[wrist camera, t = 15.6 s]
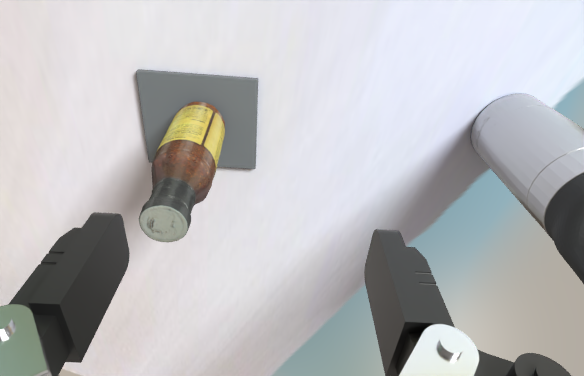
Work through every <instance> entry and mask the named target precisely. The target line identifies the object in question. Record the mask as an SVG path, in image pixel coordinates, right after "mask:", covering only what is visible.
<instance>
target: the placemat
mask: <svg viewBox="0 0 584 376" xmlns="http://www.w3.org/2000/svg"><path fill="white" fill-rule="evenodd" d="M136 74H137V81H138V88H139V95H140V102H141V109H142V116H143V123H144V131H145V138H146V145H147V152H148V159H149V162H153V159H154V156H155V154H156V152H157V150H158V148H159V146H160V144H161V142H162V140H163V138H164V136H165V134H166V132H167V130H168V128H169V126H170V125H171V123H172V121H173V119H174V117H175V115H176V114H177V113H178V111H179V110H180V109H181V108H182V107H184V106H185V105H187V104H189V103H191V102H205V103H208V104H210V105H212V106H214V107H215V108H216V109H217V110H218V111H219V113H220V114H221V115H222V117H223V120H224V122H225V135H224V140H223V144H222V148H221V152H220V156H219V160H218V164H217V167H232V168H248V169H255V166H256V133H257V98H258V78H247V77H233V76H220V75H206V74H193V73H180V72H166V71H153V70H139V69H138V70H137V71H136Z"/></svg>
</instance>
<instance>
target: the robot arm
mask: <svg viewBox="0 0 584 376" xmlns="http://www.w3.org/2000/svg"><path fill="white" fill-rule="evenodd" d="M471 141H472V145H473V147H474V149H475V151H476V152H477V153H478V154H479V155H480V156H481V158H482V159H483V160H484V161H485V162H486V163H487V165H488V166H489V167H490V168H491V169H492V170H493V172H494V173H495V174H496V175H497V176H498V177H499V178H500V180H501V181H502V182H503V183H504V184H505V185H506V187H507V188H508V189H509V190H510V191H511V192H512V194H513V195H515V197H516V198H517V199H518V200H519V201H520V203H521V204H522V205H523V206H524V207H525V208H526V210H527V211H528V212H529V213H530V214H531V215H532V217H533V218H535V220H536V221H537V222H538V223H539V224H540V226H541V227H542V228H543V229H544V230H545V231H546V232H547V234H548V235H549V236H550V237H551V238H552V240H553V241H554V243H555V245H556V248H557V250H558V251H559V253H560V254H561V255H562V257H563V258H564V260H565V261H566V262H567V263H568V264H569V266H570V267H571V268H572V269H573V271H574V272H575V273H576V274H577V276H578V277H579V278H580V280H581V281H582V282H583V284H584V129H583V128H582V127H580V126H579V125H577V124H575V123H574V122H572V121H571V120H569V119H568V118H566V117H565V116H563V115H562V114H560V113H559V112H557V111H556V110H554V109H553V108H551V107H549V106H547V105H546V104H544V103H543V102H541V101H540V100H538V99H537V98H535V97H534V96H531V95H528V94H511V95H507V96H504V97H501V98H499V99H497V100H495V101H494V102H492V103H491V104H490V105H488V106H487V107H486V108H485V109H484V110H483V111H482V112H481V113H480V114H479V116H478V117H477V119H476V120H475V123H474V125H473V128H472V132H471ZM128 263H129V248H128V243H127V238H126V233H125V228H124V223H123V219H122V216H121V215H120V214H113V213H93V214H91V216H90V217H89V218H88V220H87V221H86V223H85V224H84V225H83V227H82V228H73V229H72V230H70V231H69V232H67V233H66V234H65V235H63V236H62V237H60V238H59V239H58V240H57V242H56V243H55V244H54V246H53V247H52V248H51V249H50V251H49V254H47V255H46V256H45V257H44V259H43V260H42V261H41V265H40V264H39V265H38V266H37V268H36V269H35V270H34V272H33V273H32V274H31V276H30V277H29V278H28V280H27V281H26V282H25V283H24V285H23V286H22V287H21V289H20V290H19V291H18V293H17V294H16V295H15V297H14V298H13V299H12V300H11V302H10V303H9V304H8V305H4V306H0V376H59V373H60V371H61V369H62V367H63V365H64V363H65V362H82V360H83V357H84V355H85V353H86V351H87V349H88V347H89V345H90V343H91V341H92V339H93V337H94V335H95V333H96V331H97V329H98V327H99V325H100V323H101V321H102V319H103V317H104V315H105V313H106V311H107V309H108V307H109V304H110V302H111V300H112V298H113V296H114V294H115V292H116V290H117V288H118V286H119V284H120V282H121V280H122V278H123V276H124V274H125V272H126V270H127V267H128ZM365 284H366V288H367V293H368V298H369V302H370V307H371V311H372V316H373V320H374V325H375V330H376V334H377V339H378V344H379V348H380V352H381V357H382V362H383V367H384V371H385V376H571V375H570V374H569V372H567V371H566V370H565V369H564V368H563V367H562V366H561V365H560V364H558V363H557V362H555V361H553V360H551V359H550V358H548V357H545V356H543V355H540V354H535V353H526V354H523V355H520V356H519V357H518V358H517V359H516V361H515V362H514V363H513V362H511V361H508V360H505V359H502V358H499V357H496V356H492V355H489V354H487V353H484V352H481V351H480V350H478V349H477V348H476V346H475V344H474V343H473V341H472V340H471V339H470V338H469V337H468V336H467V335H466V334H464V333H463V332H462V331H460V330H458V329H456V328H455V327H454V324H453V322H452V320H451V317H450V315H449V313H448V310H447V308H446V306H445V303H444V301H443V298H442V296H441V294H440V292H439V289H438V287H437V286H436V282H435V279H434V277H433V275H431V270H430V268H429V265H428V263H427V261H426V259H425V258H424V257H423V256H422V255H421V254H420V252H419V251H418V250H417V249H415V247H414V248H413V247H405V244H404V241H403V239H402V236H401V233H400V232H399V231H396V230H378V229H376V230H374V232H373V236H372V240H371V244H370V248H369V252H368V256H367V260H366V264H365Z"/></svg>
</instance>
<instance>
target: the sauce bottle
mask: <svg viewBox="0 0 584 376" xmlns="http://www.w3.org/2000/svg"><path fill="white" fill-rule="evenodd" d="M224 135H225V122H224V120H223V117H222V115H221V114H220V113H219V111H218V110H217V109H216V108H215V107H214V106H212V105H210V104H208V103H205V102H191V103H189V104H187V105H185V106H184V107H182V108H181V109H180V110H179V111H178V113H177V114H176V115H175V117H174V119H173V121H172V123H171V125H170V126H169V128H168V130H167V132H166V134H165V136H164V138H163V140H162V142H161V144H160V146H159V148H158V150H157V152H156V154H155V156H154V159H153V163H152V182H153V190H152V195H151V197H150V199H149V201H147V202H146V203H145V205H144V206H143V208H142V211H141V214H140V217H139V223H140V226H141V229H142V230H143V231H144V233H145V234H146V235H147V236H148V237H150V238H151V239H153V240H156V241H160V242H173V241H177V240H179V239H181V238H183V237H184V236H185V235H186V233H187V231H188V228H189V226H190V223H191V215H190V214H191V211H192V208H193V206H194V205H195V204H197V203H199V202H201V201H203V200H204V199H205V198H206V196H207V194H208V192H209V190H210V188H211V186H212V180H213V178H214V175H215V172H216V168H217V164H218V160H219V156H220V152H221V148H222V144H223V140H224Z"/></svg>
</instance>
